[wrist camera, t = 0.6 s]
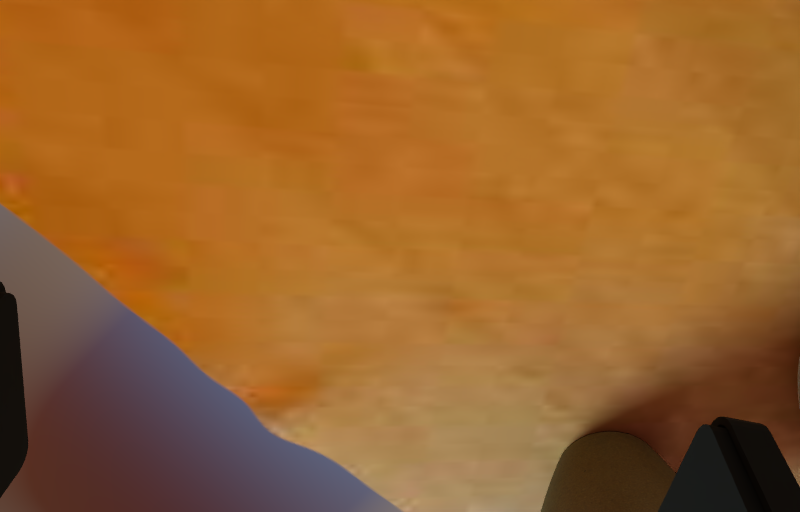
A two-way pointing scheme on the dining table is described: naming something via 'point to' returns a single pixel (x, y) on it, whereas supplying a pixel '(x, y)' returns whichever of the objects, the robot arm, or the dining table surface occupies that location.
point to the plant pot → (608, 476)
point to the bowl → (799, 382)
